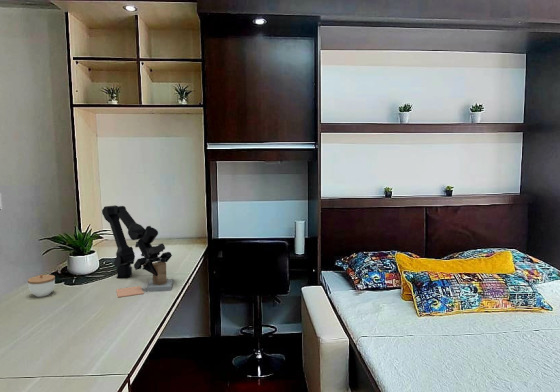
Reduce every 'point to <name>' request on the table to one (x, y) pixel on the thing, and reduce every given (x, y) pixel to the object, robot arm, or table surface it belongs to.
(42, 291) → the lidded jar
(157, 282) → the walnut block
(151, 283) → the grey ledge
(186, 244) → the table surface
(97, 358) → the table surface
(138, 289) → the terracotta mat
